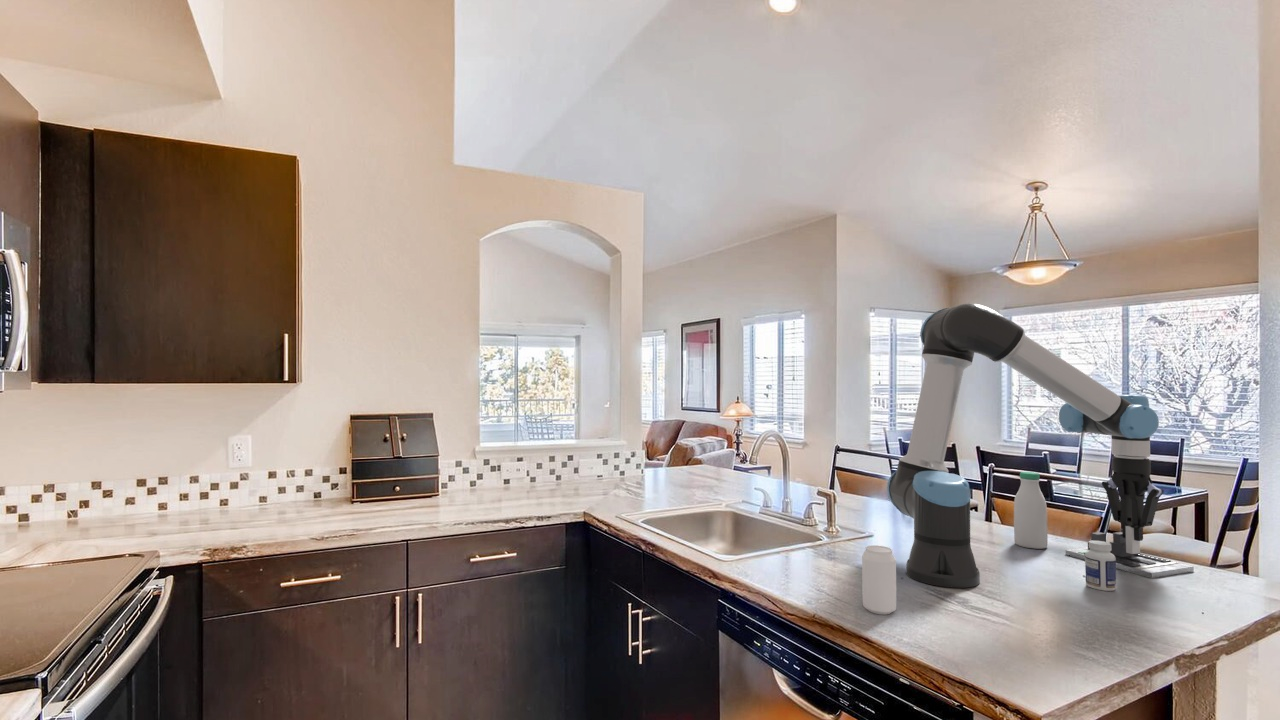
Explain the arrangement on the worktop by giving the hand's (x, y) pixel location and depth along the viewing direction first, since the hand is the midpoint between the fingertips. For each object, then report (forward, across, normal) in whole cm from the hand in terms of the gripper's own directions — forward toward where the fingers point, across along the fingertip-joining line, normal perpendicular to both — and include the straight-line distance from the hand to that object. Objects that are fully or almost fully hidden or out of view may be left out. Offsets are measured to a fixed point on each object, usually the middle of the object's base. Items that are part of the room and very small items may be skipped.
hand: (1133, 552), depth 151 cm
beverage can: (+3, -5, +81) cm, 81 cm away
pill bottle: (+3, -9, +25) cm, 27 cm away
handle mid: (+1, +3, 0) cm, 3 cm away
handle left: (+1, +4, +6) cm, 7 cm away
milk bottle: (+3, +21, +8) cm, 23 cm away
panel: (+3, +2, 0) cm, 3 cm away
